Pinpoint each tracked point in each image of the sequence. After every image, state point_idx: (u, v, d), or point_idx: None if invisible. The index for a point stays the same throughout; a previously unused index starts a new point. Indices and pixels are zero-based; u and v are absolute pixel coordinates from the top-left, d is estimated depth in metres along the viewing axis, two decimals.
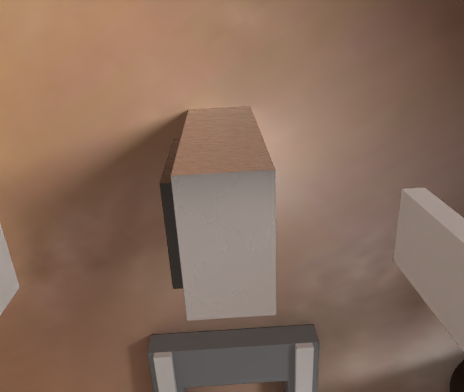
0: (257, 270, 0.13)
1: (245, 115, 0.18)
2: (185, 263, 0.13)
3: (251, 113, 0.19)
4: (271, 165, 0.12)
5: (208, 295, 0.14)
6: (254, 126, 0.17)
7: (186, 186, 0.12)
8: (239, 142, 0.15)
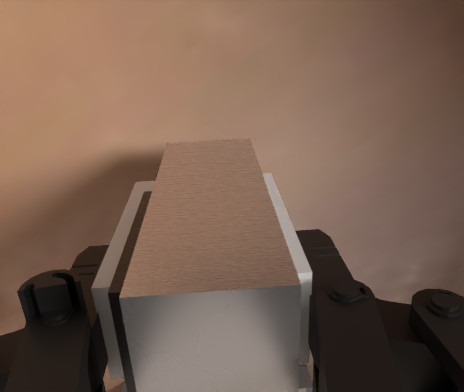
0: None
1: (243, 155, 0.13)
2: None
3: (252, 151, 0.14)
4: (292, 273, 0.07)
5: None
6: (257, 177, 0.12)
7: (147, 313, 0.07)
8: (237, 212, 0.10)
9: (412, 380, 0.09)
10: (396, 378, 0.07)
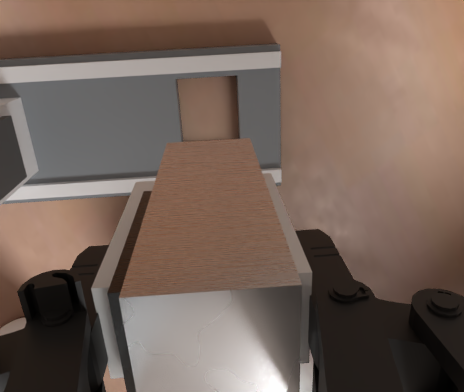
0: None
1: (244, 154, 0.13)
2: None
3: (252, 151, 0.14)
4: (293, 273, 0.07)
5: None
6: (258, 176, 0.11)
7: (147, 313, 0.07)
8: (237, 212, 0.10)
9: (412, 380, 0.09)
10: (396, 378, 0.07)
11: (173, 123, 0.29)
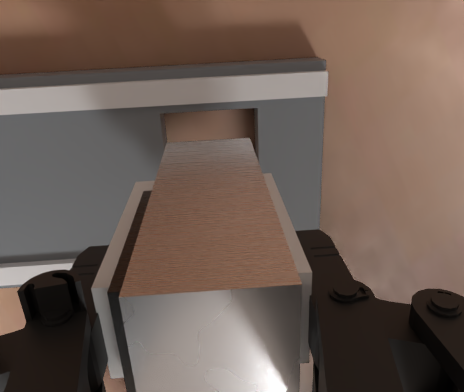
0: None
1: (243, 154, 0.13)
2: None
3: (252, 150, 0.14)
4: (293, 272, 0.07)
5: None
6: (258, 176, 0.11)
7: (147, 313, 0.07)
8: (237, 211, 0.10)
9: (411, 380, 0.09)
10: (396, 378, 0.07)
11: None
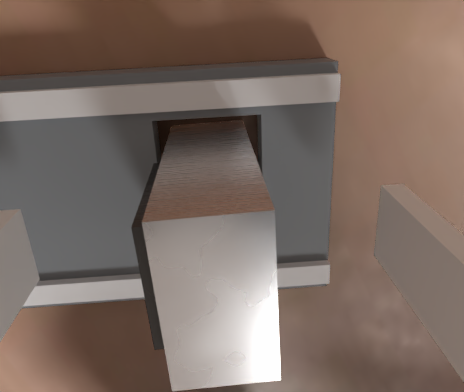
0: (256, 330, 0.11)
1: (236, 131, 0.16)
2: (166, 325, 0.11)
3: (243, 129, 0.16)
4: (269, 204, 0.10)
5: (196, 361, 0.11)
6: (247, 146, 0.14)
7: (162, 234, 0.09)
8: (229, 170, 0.12)
9: None
10: None
11: None
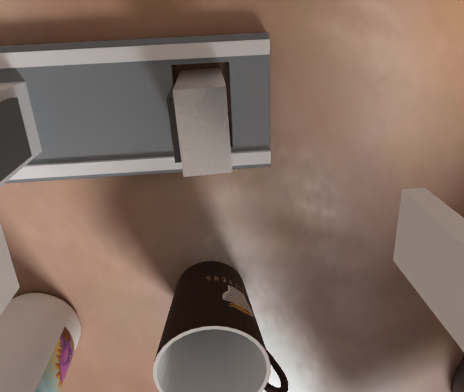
0: (220, 144, 0.25)
1: (216, 70, 0.30)
2: (181, 141, 0.25)
3: (219, 69, 0.30)
4: (224, 85, 0.24)
5: (194, 160, 0.25)
6: (220, 74, 0.28)
7: (180, 96, 0.23)
8: (209, 79, 0.26)
9: None
10: None
11: None
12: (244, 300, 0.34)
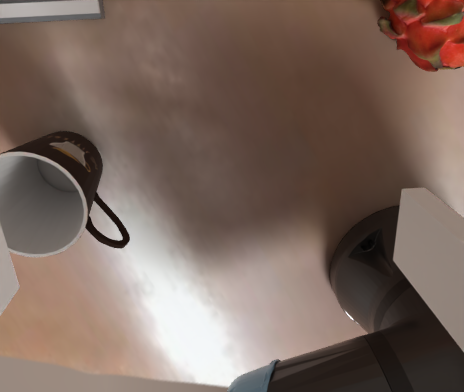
0: None
1: None
2: None
3: None
4: None
5: None
6: None
7: None
8: None
9: None
10: None
11: None
12: (80, 154, 0.35)
